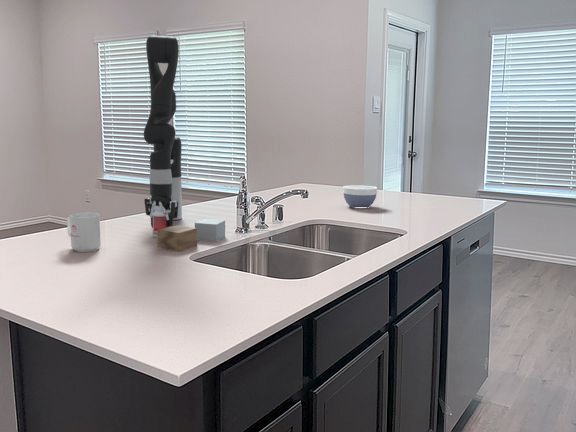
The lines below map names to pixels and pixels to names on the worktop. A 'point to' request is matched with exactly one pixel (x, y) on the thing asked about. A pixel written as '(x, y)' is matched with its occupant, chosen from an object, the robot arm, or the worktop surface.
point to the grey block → (210, 230)
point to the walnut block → (177, 238)
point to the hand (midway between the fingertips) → (161, 228)
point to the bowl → (359, 195)
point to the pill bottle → (158, 220)
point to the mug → (84, 231)
